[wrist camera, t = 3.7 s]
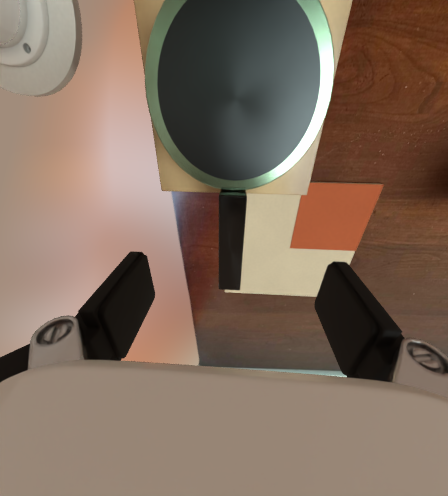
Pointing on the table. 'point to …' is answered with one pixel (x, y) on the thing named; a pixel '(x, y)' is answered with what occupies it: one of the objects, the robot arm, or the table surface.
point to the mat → (302, 236)
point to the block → (294, 180)
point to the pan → (238, 97)
